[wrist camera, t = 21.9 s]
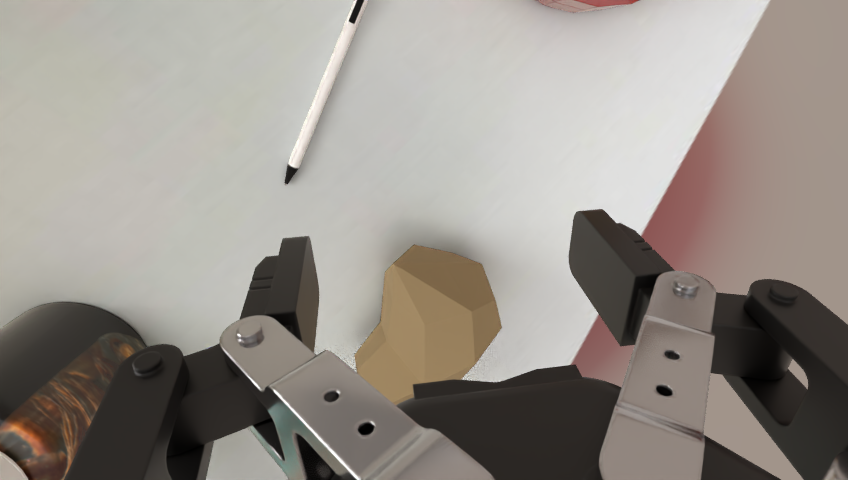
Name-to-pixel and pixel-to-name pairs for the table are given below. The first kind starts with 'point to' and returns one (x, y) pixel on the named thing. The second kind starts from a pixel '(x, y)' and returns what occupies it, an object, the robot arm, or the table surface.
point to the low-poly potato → (428, 323)
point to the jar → (55, 384)
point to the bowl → (585, 4)
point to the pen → (325, 87)
